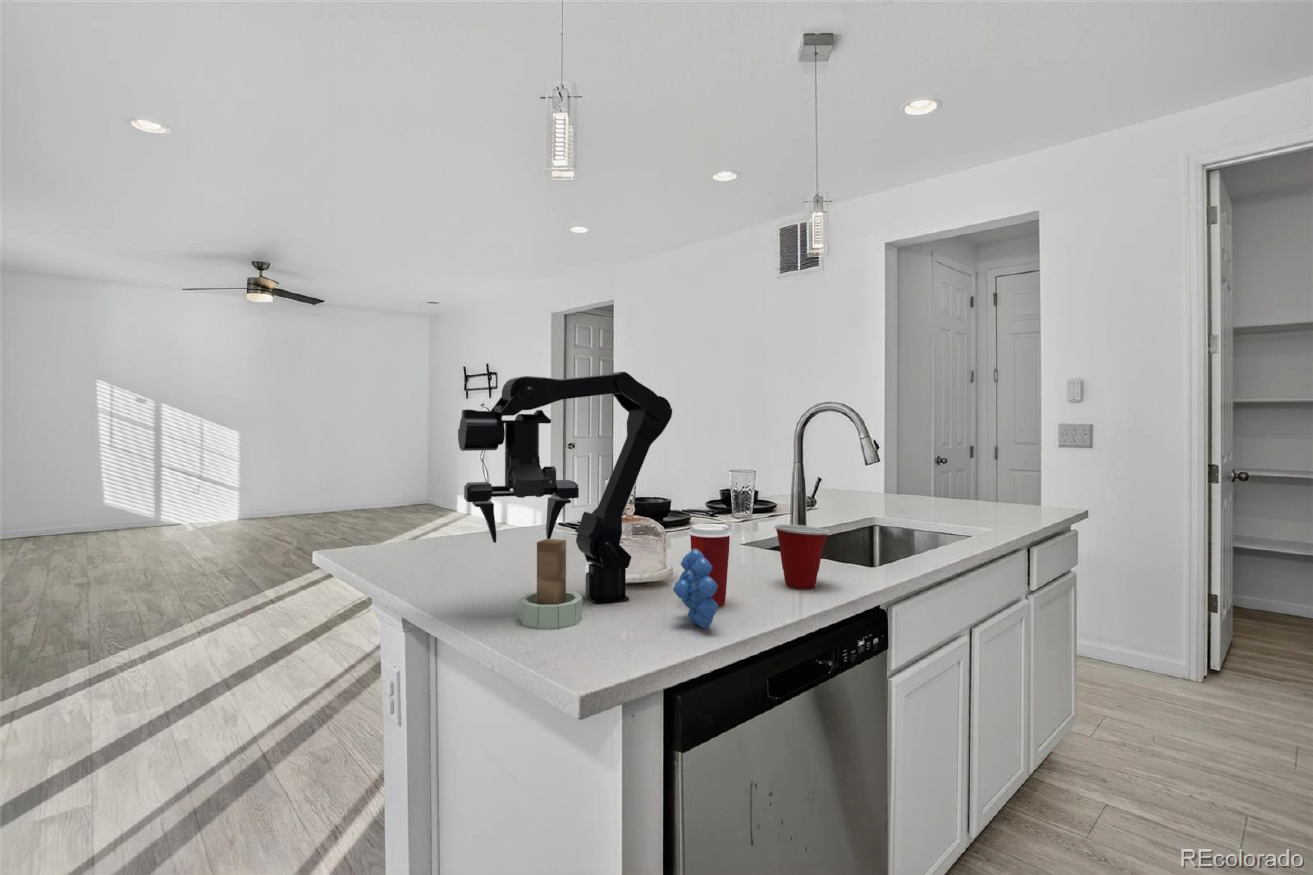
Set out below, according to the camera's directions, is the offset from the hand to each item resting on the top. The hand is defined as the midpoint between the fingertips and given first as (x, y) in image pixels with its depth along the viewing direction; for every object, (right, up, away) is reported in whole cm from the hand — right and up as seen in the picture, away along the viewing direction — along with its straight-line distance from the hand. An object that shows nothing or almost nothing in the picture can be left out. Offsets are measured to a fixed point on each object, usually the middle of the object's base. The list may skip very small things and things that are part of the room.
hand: (521, 540), depth 113 cm
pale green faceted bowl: (+6, -12, -5) cm, 14 cm away
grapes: (+29, -13, -7) cm, 32 cm away
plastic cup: (+52, -12, +18) cm, 56 cm away
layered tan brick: (+6, -11, -5) cm, 14 cm away
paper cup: (+33, -12, +5) cm, 35 cm away
